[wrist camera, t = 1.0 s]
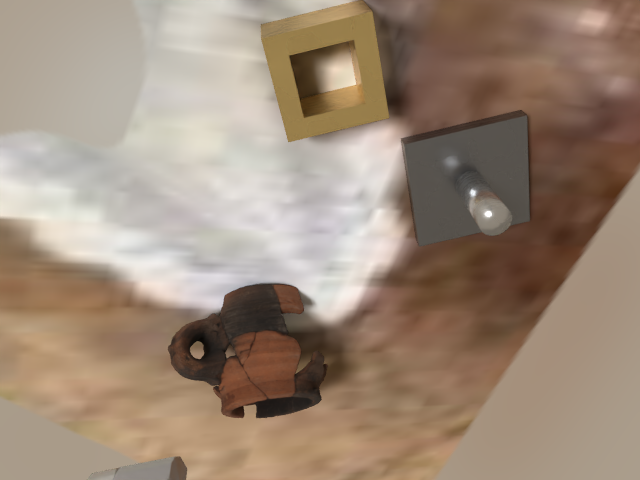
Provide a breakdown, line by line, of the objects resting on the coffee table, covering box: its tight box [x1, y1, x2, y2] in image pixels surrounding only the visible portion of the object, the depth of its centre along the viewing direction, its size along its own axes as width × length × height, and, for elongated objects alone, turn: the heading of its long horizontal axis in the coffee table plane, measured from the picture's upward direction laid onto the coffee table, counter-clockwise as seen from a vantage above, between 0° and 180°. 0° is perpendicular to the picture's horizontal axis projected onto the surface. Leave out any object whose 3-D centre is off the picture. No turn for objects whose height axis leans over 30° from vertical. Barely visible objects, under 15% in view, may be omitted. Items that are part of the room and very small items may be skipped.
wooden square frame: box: [261, 0, 389, 142], centre depth 34 cm, size 6×6×4 cm
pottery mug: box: [168, 284, 328, 418], centre depth 44 cm, size 12×10×8 cm
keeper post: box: [401, 110, 530, 246], centre depth 38 cm, size 8×8×6 cm
